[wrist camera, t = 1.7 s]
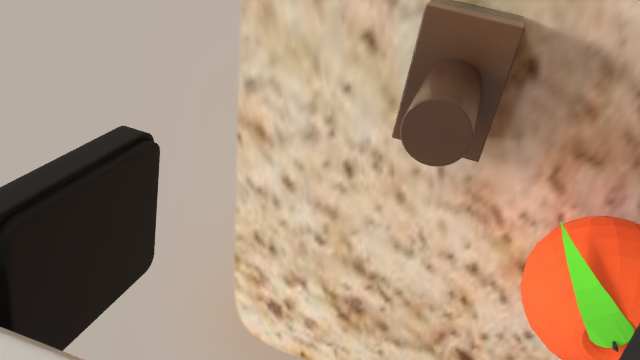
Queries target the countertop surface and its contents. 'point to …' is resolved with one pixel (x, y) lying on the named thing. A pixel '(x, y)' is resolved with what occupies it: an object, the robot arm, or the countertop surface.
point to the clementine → (585, 288)
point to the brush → (456, 80)
